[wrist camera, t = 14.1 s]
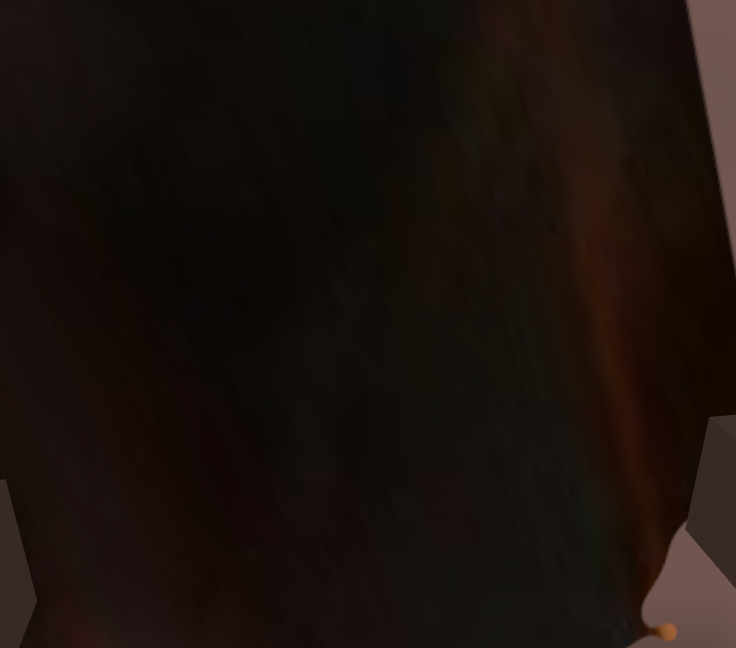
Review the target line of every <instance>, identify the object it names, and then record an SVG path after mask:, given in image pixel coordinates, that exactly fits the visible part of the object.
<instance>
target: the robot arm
mask: <svg viewBox="0 0 736 648" xmlns="http://www.w3.org/2000/svg"><path fill="white" fill-rule="evenodd" d="M685 529H686V531H687V532H688V533H689V534H690V535H691V537H692V538H693V539H694V540H695V541H696V543H697V544H698V545H699V546H700V547H701V548H702V549H703V550H704V552H705V553H706V554H707V555H708V557H709V558H710V559H711V560H712V561H713V562H714V563H715V565H716V566H717V567H718V568H719V569H720V571H721V572H722V573H723V574H724V575H725V576H726V578H727V579H728V580H729V581H730V582H731V584H732V585H733V586H734V587H735V588H736V415H730V416H719V417H710V418H709V422H708V427H707V431H706V436H705V441H704V445H703V450H702V455H701V459H700V464H699V468H698V473H697V478H696V482H695V487H694V492H693V496H692V501H691V505H690V510H689V515H688V519H687V524H686V528H685ZM36 603H37V599H36V595H35V591H34V587H33V583H32V579H31V575H30V572H29V568H28V564H27V560H26V556H25V552H24V549H23V545H22V541H21V537H20V533H19V529H18V525H17V522H16V518H15V514H14V510H13V506H12V502H11V498H10V495H9V491H8V487H7V483H6V479H5V480H0V648H19V646H20V644H21V641H22V639H23V636H24V634H25V631H26V628H27V626H28V623H29V621H30V618H31V616H32V613H33V610H34V608H35V605H36Z"/></svg>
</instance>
